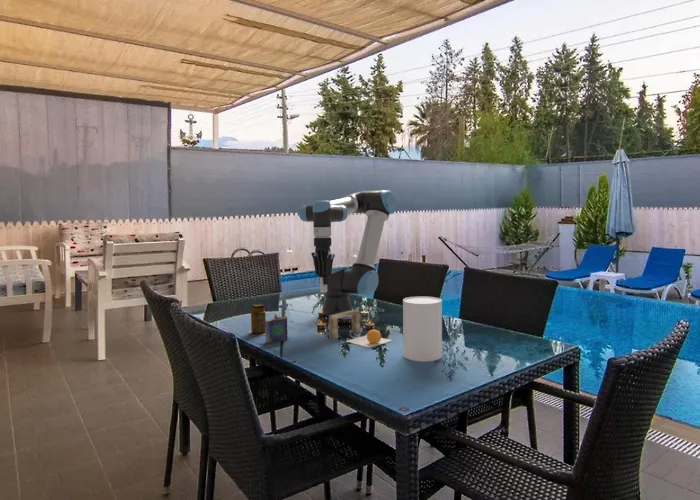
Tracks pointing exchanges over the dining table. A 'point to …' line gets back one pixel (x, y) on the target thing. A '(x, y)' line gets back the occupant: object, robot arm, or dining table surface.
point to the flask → (276, 329)
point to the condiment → (258, 320)
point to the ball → (374, 336)
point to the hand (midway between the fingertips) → (323, 291)
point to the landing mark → (364, 341)
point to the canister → (422, 328)
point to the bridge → (333, 318)
